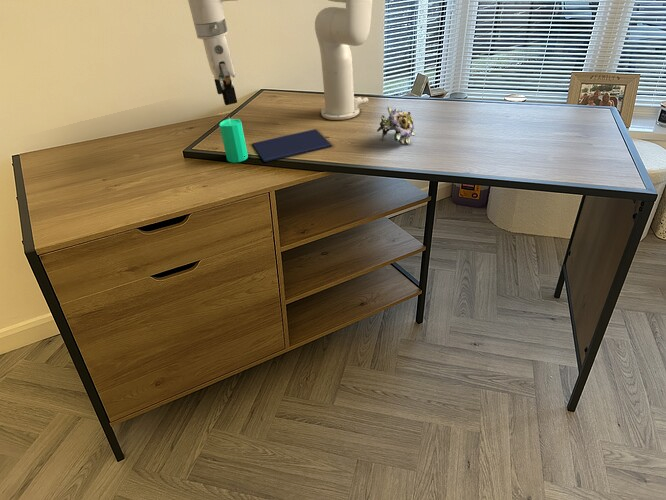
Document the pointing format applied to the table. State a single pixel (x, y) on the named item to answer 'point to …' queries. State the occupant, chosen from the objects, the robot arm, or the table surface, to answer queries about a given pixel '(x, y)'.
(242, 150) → the candle
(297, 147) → the cloth
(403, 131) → the passion flower
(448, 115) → the table surface
